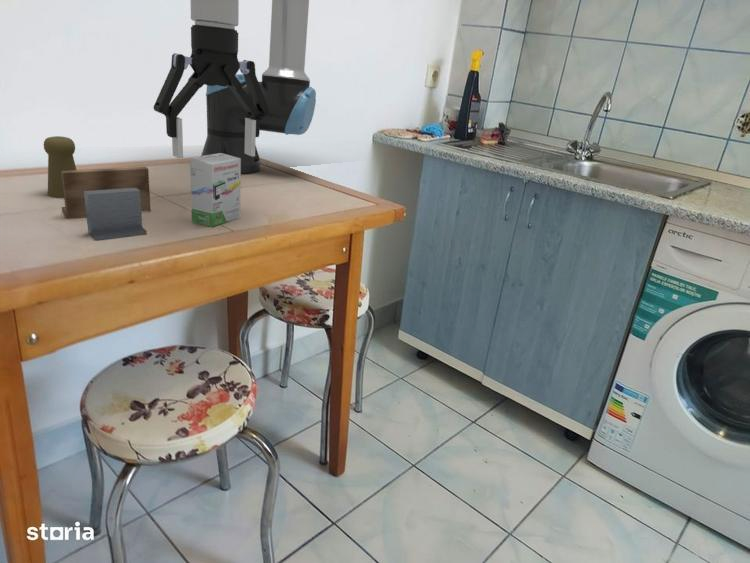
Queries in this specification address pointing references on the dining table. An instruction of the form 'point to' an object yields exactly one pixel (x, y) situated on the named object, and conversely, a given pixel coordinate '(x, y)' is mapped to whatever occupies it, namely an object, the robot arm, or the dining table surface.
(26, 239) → the dining table surface
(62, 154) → the cork
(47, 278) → the dining table surface
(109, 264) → the dining table surface
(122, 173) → the brown boxy piece
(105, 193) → the bookend
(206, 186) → the ink box
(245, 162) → the robot arm
